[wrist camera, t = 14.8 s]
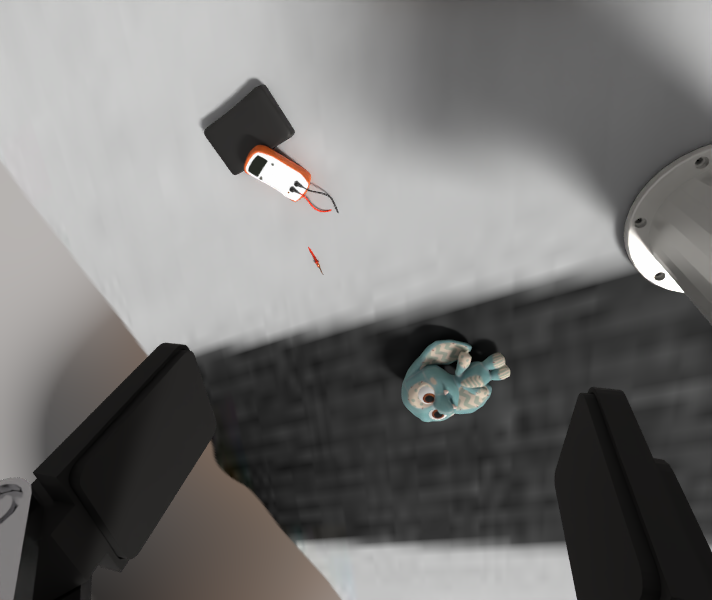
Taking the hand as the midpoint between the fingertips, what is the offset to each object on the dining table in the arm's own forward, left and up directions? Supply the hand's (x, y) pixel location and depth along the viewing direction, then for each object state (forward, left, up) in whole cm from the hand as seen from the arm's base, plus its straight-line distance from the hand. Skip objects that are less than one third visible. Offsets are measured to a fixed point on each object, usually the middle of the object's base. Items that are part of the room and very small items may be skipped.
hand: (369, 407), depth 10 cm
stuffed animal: (-3, +24, -31) cm, 39 cm away
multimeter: (+12, +4, -31) cm, 34 cm away
